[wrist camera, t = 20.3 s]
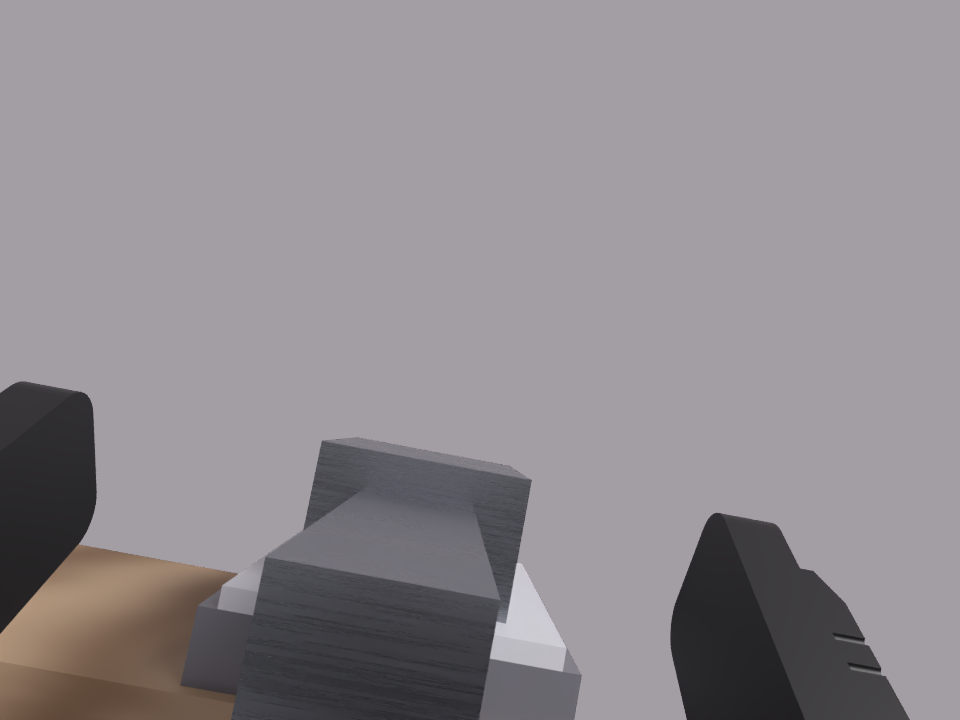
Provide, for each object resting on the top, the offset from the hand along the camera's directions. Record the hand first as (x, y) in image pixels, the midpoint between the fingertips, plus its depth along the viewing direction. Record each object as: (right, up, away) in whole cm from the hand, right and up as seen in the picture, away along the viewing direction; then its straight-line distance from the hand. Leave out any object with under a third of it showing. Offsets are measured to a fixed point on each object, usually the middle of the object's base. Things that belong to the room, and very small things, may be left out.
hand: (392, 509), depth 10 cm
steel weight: (-1, -5, +9) cm, 10 cm away
